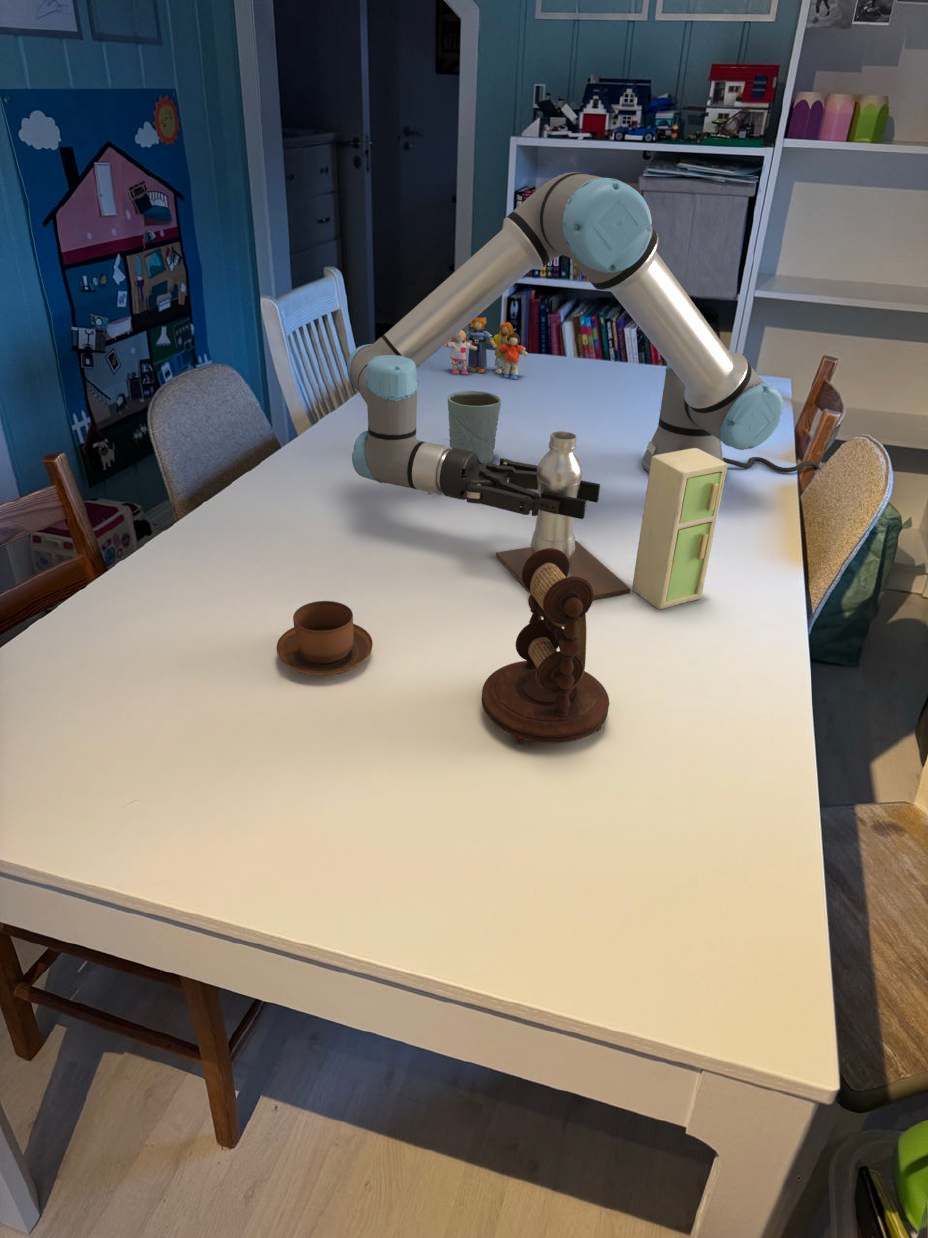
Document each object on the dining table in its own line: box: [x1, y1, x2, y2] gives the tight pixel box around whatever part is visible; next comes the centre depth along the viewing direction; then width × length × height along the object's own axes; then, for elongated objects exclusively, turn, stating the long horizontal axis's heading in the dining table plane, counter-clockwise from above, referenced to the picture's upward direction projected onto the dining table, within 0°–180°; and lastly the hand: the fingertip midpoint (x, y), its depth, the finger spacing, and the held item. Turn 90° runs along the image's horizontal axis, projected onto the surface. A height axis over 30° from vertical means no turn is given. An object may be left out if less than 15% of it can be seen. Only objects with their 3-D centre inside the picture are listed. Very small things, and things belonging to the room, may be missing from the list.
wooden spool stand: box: [481, 548, 610, 746], centre depth 99 cm, size 15×15×20 cm
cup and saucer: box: [275, 600, 374, 676], centre depth 111 cm, size 12×12×6 cm
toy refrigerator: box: [631, 448, 728, 610], centre depth 123 cm, size 8×7×21 cm
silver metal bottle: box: [530, 430, 583, 561], centre depth 130 cm, size 6×7×20 cm
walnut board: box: [495, 539, 631, 601], centre depth 133 cm, size 14×17×1 cm
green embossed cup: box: [447, 390, 502, 464], centre depth 171 cm, size 10×10×12 cm
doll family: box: [442, 316, 528, 380], centre depth 223 cm, size 21×10×13 cm, turn 81°
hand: (591, 501), depth 128 cm, fingers closed on silver metal bottle, 6 cm apart
